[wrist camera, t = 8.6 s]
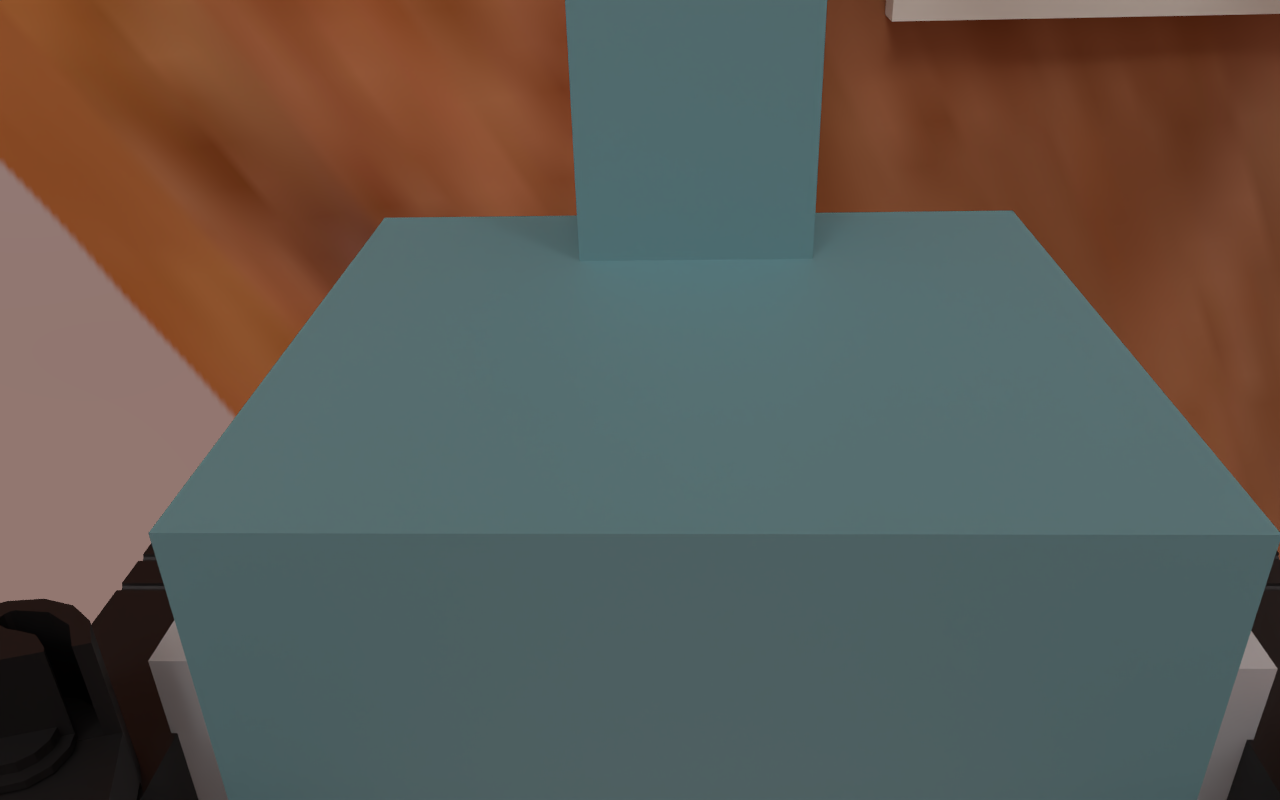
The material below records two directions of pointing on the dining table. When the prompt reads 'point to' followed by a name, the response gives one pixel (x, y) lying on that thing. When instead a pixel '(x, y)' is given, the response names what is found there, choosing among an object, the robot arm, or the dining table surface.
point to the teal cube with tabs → (710, 489)
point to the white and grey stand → (1068, 8)
